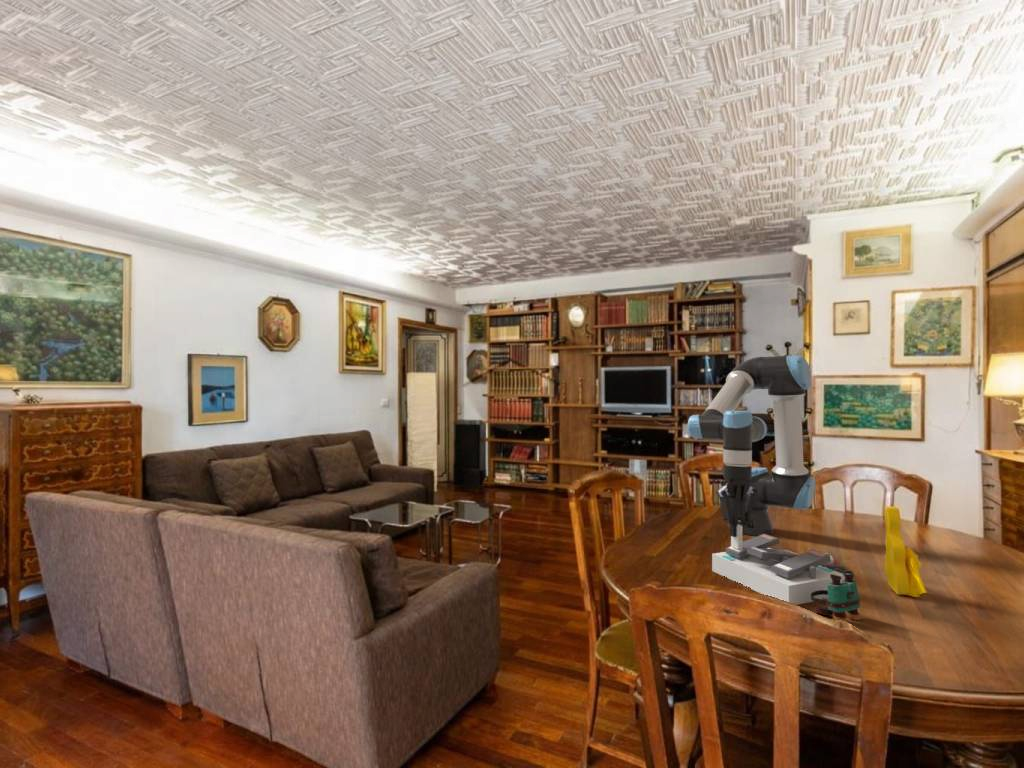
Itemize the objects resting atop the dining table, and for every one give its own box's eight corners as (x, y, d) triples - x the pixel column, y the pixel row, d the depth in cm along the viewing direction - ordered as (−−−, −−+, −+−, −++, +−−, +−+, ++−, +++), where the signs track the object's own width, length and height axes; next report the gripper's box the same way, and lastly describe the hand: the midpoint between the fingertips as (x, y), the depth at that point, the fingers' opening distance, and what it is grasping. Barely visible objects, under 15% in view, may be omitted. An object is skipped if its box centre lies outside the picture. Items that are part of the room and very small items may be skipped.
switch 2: (787, 556, 145) (788, 549, 145) (802, 561, 140) (803, 555, 141) (746, 552, 140) (747, 546, 140) (761, 558, 135) (762, 551, 135)
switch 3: (813, 555, 138) (812, 549, 138) (830, 561, 133) (829, 554, 133) (771, 572, 133) (770, 565, 132) (788, 578, 128) (787, 571, 128)
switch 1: (765, 538, 153) (764, 533, 153) (779, 543, 148) (778, 537, 148) (726, 553, 148) (725, 547, 147) (739, 558, 143) (738, 552, 143)
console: (764, 562, 156) (764, 536, 156) (846, 594, 132) (846, 564, 132) (712, 570, 149) (712, 544, 149) (788, 606, 125) (788, 574, 125)
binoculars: (823, 563, 127) (864, 572, 118) (828, 607, 126) (870, 619, 117) (798, 568, 123) (839, 577, 114) (802, 613, 122) (844, 627, 113)
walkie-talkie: (801, 560, 159) (816, 583, 140) (801, 546, 159) (816, 567, 140) (833, 563, 156) (853, 587, 137) (833, 548, 156) (853, 570, 138)
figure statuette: (936, 608, 123) (935, 516, 124) (897, 603, 126) (896, 514, 126) (907, 582, 140) (906, 501, 140) (873, 578, 143) (872, 499, 143)
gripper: (744, 462, 152) (744, 542, 151) (709, 463, 147) (708, 546, 147) (765, 465, 145) (764, 549, 144) (729, 467, 140) (728, 553, 140)
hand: (736, 547), depth 146 cm, fingers closed
